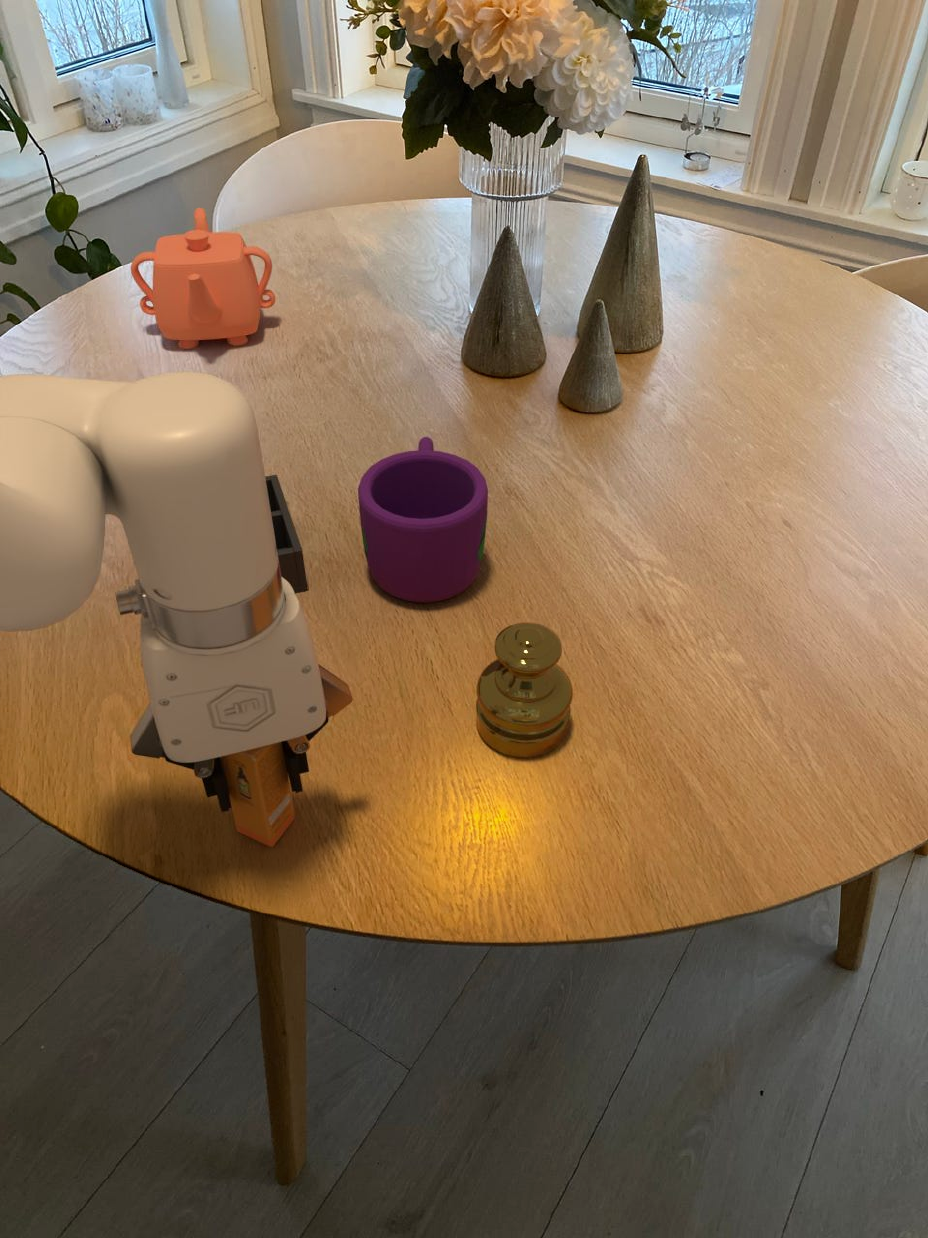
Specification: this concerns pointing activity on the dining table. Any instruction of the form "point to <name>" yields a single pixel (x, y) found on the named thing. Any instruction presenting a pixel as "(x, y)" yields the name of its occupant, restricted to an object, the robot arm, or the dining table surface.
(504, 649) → the brass knobbed weight
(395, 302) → the dining table surface
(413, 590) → the mug
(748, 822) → the dining table surface
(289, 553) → the rack
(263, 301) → the teapot
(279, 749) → the supplement box
